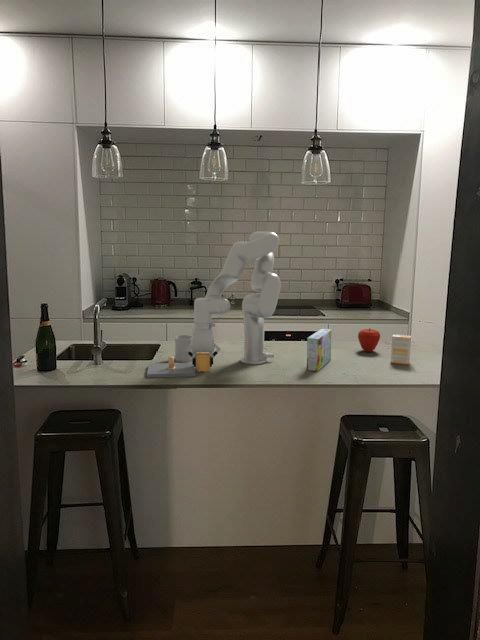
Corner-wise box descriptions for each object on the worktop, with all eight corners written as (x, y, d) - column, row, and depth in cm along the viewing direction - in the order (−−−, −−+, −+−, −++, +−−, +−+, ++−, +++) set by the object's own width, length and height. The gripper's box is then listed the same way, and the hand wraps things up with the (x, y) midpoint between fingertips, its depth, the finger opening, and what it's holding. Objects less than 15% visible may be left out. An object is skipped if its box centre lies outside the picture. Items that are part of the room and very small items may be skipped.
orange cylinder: (209, 367, 224) (209, 352, 223) (210, 371, 218) (210, 355, 216) (195, 367, 223) (195, 352, 222) (195, 371, 217) (195, 356, 216)
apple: (358, 347, 261) (360, 325, 259) (380, 349, 257) (381, 326, 255) (355, 352, 251) (357, 329, 249) (377, 354, 247) (379, 331, 245)
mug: (192, 362, 231) (192, 339, 229) (174, 362, 231) (174, 339, 229) (194, 355, 243) (194, 333, 241) (177, 355, 243) (176, 333, 241)
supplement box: (409, 362, 234) (411, 335, 232) (408, 365, 230) (410, 337, 227) (391, 360, 237) (393, 333, 235) (390, 363, 233) (391, 335, 231)
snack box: (319, 358, 239) (321, 328, 237) (331, 360, 237) (332, 329, 234) (305, 370, 221) (306, 337, 218) (317, 372, 218) (319, 338, 215)
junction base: (194, 365, 226) (193, 351, 225) (195, 376, 210) (195, 361, 209) (149, 366, 224) (148, 352, 222) (147, 377, 208) (146, 362, 207)
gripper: (221, 324, 221) (221, 363, 225) (182, 324, 219) (182, 364, 223) (223, 328, 214) (223, 368, 218) (182, 328, 212) (183, 369, 215)
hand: (202, 365), depth 220 cm, fingers closed on orange cylinder, 6 cm apart
